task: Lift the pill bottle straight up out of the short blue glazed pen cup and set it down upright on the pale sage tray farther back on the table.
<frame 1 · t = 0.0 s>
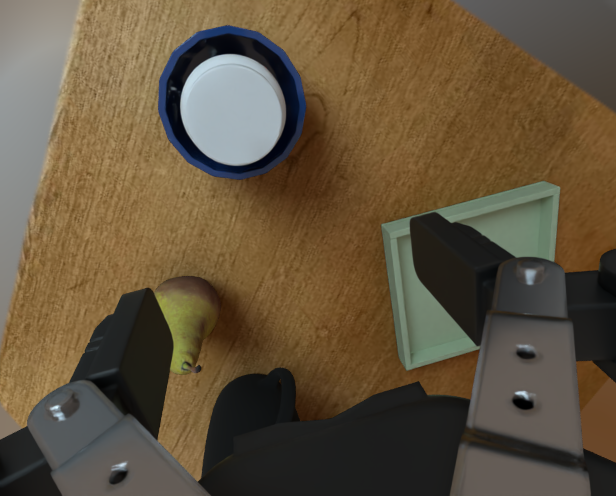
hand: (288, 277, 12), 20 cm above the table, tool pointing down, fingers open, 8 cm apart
pen cup: (232, 99, 29), on the table
tray: (466, 275, 39), on the table
mug: (257, 384, 40), on the table
fruit: (187, 292, 35), on the table
pill bottle: (232, 100, 28), resting on pen cup
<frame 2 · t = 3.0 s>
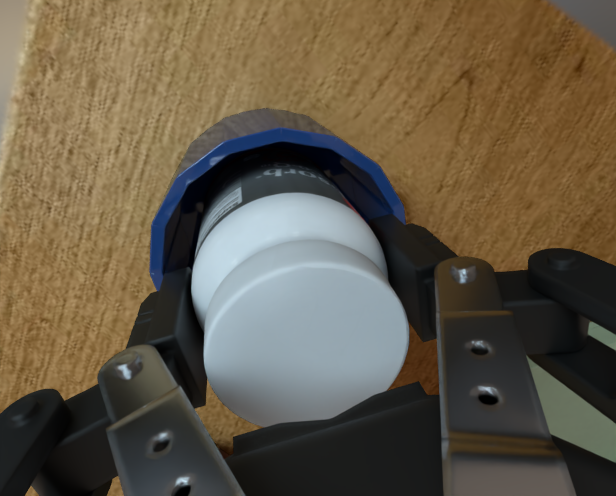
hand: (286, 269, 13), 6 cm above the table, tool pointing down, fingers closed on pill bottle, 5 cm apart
pen cup: (269, 207, 18), on the table
tray: (575, 408, 28), on the table
pill bottle: (270, 208, 18), resting on pen cup, touching gripper
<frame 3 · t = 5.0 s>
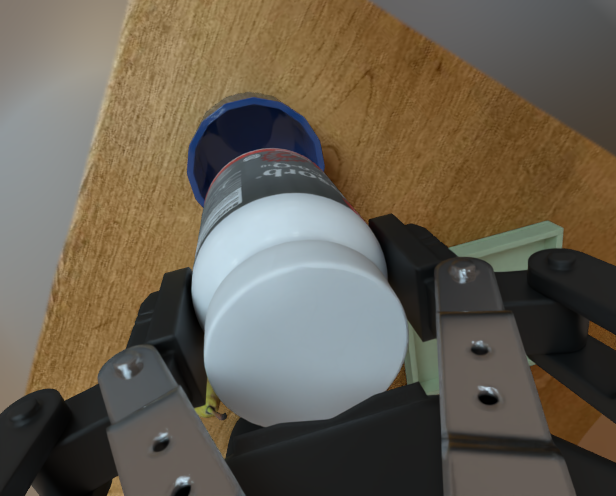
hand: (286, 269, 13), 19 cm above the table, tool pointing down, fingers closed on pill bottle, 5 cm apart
pen cup: (252, 152, 30), on the table
tray: (472, 309, 40), on the table
mug: (271, 414, 41), on the table
fruit: (205, 329, 36), on the table
pill bottle: (270, 208, 18), point 13 cm above the table, touching gripper
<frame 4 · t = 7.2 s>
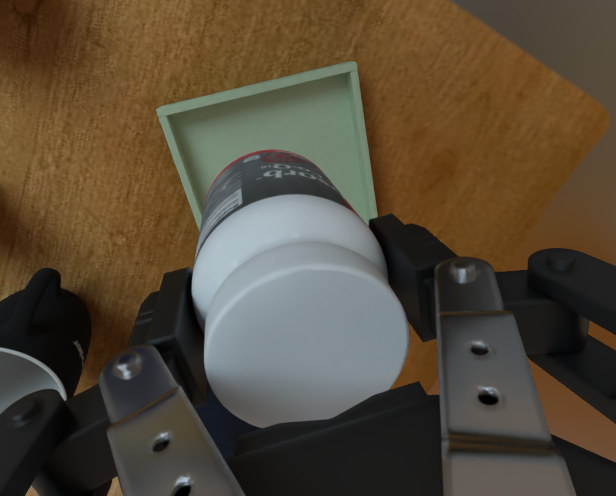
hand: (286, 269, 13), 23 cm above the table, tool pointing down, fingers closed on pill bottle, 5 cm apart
tray: (278, 176, 35), on the table
mug: (55, 300, 36), on the table
teapot: (198, 394, 44), on the table
pill bottle: (270, 209, 18), point 17 cm above the table, touching gripper
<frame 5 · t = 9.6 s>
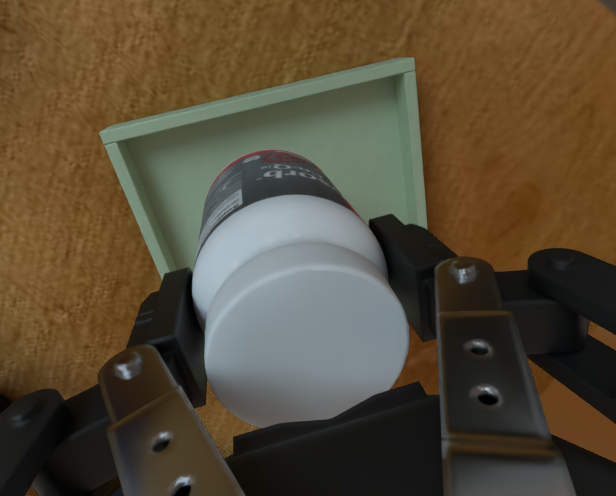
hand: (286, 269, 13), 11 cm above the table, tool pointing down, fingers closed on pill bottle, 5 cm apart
tray: (290, 224, 24), on the table
pill bottle: (270, 209, 18), point 5 cm above the table, touching gripper
when the fingers open (6 cm above the table, at t = 11.4 s): pill bottle stays where it is, resting on tray.
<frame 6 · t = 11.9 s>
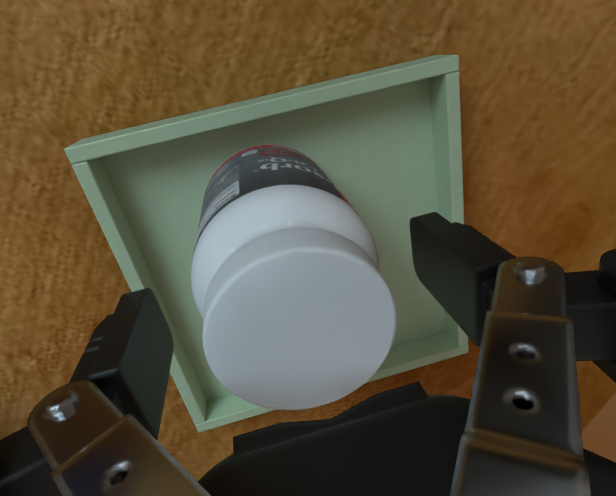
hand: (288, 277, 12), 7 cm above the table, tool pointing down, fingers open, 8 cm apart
tray: (301, 253, 20), on the table
pill bottle: (267, 203, 19), resting on tray
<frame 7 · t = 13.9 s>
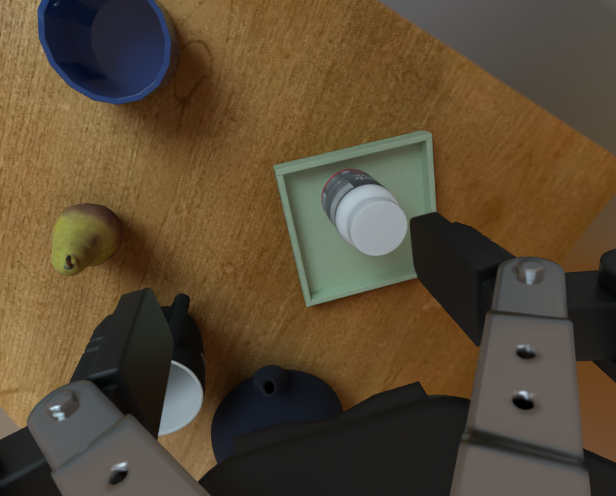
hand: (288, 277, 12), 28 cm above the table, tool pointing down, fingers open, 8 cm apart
pen cup: (124, 43, 33), on the table
tray: (359, 218, 43), on the table
mug: (171, 318, 44), on the table
teapot: (274, 399, 51), on the table
fruit: (97, 223, 38), on the table
pill bottle: (346, 194, 41), resting on tray
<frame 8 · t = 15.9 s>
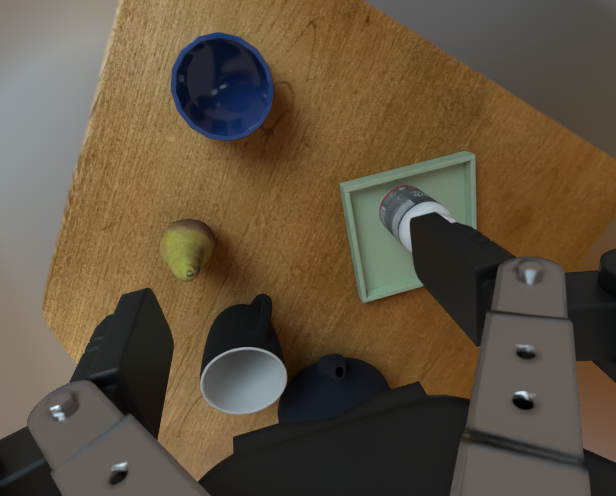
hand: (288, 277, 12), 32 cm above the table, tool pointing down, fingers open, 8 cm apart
pen cup: (223, 85, 39), on the table
tray: (409, 226, 49), on the table
mug: (245, 314, 51), on the table
teapot: (328, 383, 58), on the table
fruit: (190, 235, 45), on the table
pill bottle: (399, 206, 48), resting on tray
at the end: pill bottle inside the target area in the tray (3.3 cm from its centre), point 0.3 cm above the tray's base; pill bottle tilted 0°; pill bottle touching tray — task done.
